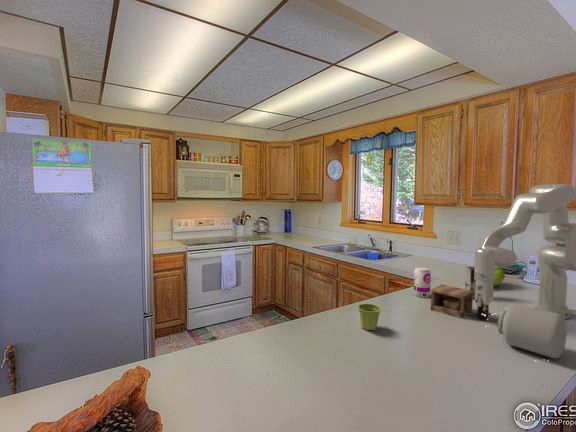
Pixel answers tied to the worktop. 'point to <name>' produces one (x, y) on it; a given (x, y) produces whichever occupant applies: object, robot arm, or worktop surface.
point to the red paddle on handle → (455, 306)
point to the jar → (533, 330)
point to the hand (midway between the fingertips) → (482, 317)
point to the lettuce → (498, 276)
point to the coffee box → (470, 280)
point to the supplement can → (422, 282)
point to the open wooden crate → (453, 293)
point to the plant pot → (369, 315)
